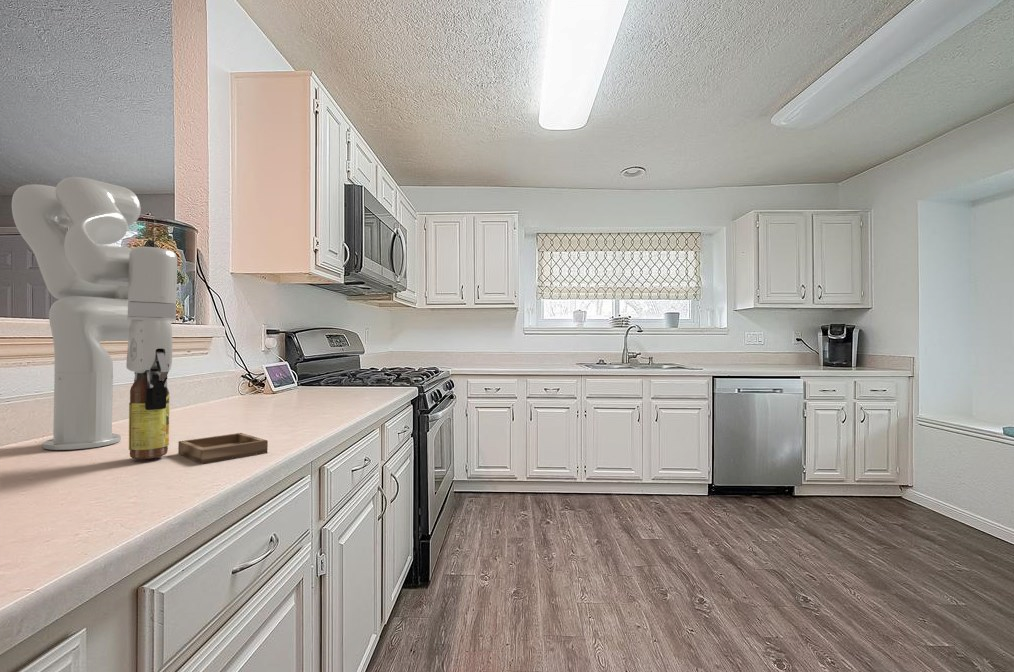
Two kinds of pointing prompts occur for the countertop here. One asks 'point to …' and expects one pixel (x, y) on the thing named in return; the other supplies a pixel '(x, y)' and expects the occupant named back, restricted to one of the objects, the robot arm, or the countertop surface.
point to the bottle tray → (222, 447)
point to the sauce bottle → (147, 423)
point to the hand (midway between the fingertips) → (149, 406)
